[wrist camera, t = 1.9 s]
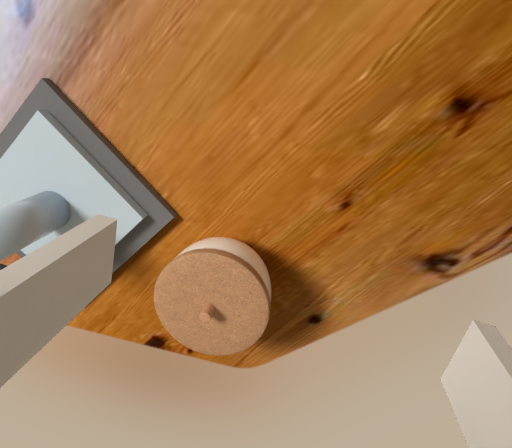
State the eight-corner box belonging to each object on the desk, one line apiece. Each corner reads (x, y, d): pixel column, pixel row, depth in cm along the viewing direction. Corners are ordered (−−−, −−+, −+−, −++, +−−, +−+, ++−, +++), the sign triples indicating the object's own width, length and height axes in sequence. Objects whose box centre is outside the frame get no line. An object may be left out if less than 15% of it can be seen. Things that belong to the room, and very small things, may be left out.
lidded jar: (256, 324, 42) (241, 386, 34) (170, 288, 42) (132, 339, 34) (294, 246, 38) (287, 293, 30) (198, 206, 38) (163, 241, 30)
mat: (-37, 192, 42) (-45, 195, 41) (48, 78, 36) (41, 78, 35) (79, 302, 45) (75, 307, 44) (177, 214, 39) (174, 217, 38)
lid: (-23, 197, 41) (-125, 230, 32) (46, 109, 36) (-50, 117, 27) (71, 286, 43) (3, 342, 34) (148, 214, 39) (92, 256, 29)
